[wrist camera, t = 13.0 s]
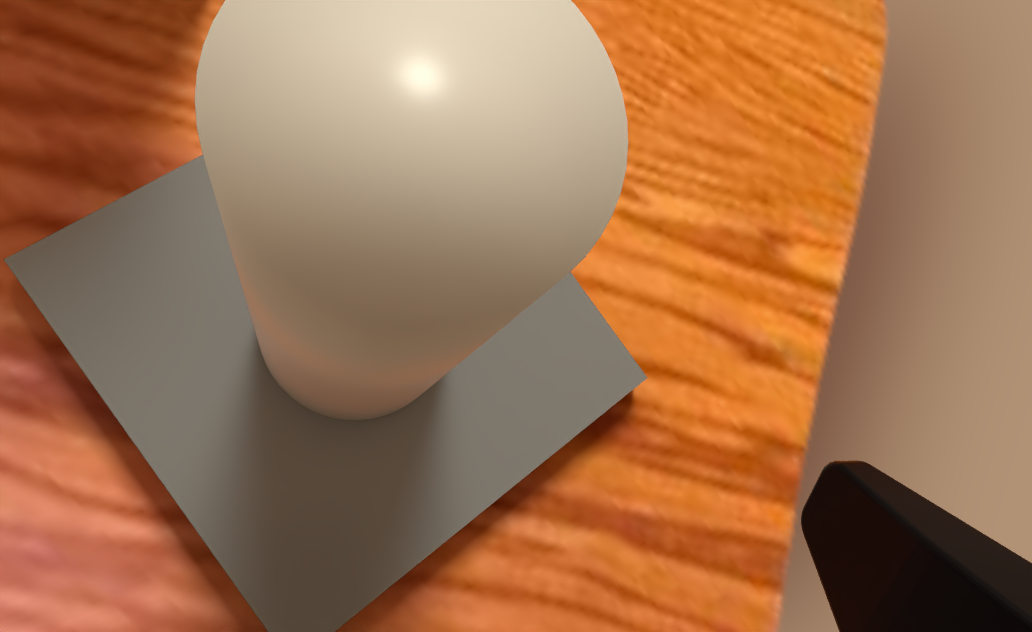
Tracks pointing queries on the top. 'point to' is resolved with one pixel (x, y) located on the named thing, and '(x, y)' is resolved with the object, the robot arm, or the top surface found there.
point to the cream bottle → (402, 178)
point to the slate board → (302, 407)
